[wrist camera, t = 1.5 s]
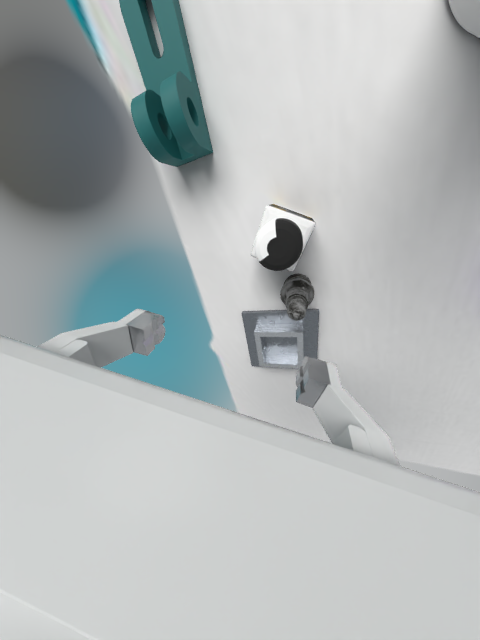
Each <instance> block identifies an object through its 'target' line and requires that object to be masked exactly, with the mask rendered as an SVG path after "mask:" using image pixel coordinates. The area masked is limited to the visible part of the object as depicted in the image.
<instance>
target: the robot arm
mask: <svg viewBox="0 0 480 640" xmlns="http://www.w3.org/2000/svg"><path fill="white" fill-rule="evenodd" d="M448 1H449V5H450V8H451V11H452V13H453V15H454V17H455V19H456V20H457V22H458V23H459V24H460V25H461V26H462V27H463V28H464V29H465V30H466V31H468V32H469V33H471V34H473V35H475V36H477V37H478V38H480V0H448ZM164 322H165V321H164V317H163V316H162V315H158V314H155V313H151V312H149V311H145V310H142V309H136V310H134V311H133V312H131V313H130V314H128V315H127V316H125V317H124V318H122V319H121V320H119V321H118V322H110V323H105V324H101V325H96V326H92V327H87V328H83V329H79V330H74V331H70V332H65V333H61V334H59V335H58V336H56V337H54V338H52V339H50V340H49V341H47V342H45V343H43V344H42V345H40V346H38V347H36V346H33V345H30V344H27V343H24V342H21V341H18V340H15V339H12V338H8V337H5V336H2V335H0V640H480V492H477V491H475V490H472V489H469V488H466V487H463V486H459V485H456V484H453V483H450V482H447V481H444V480H441V479H438V478H435V477H432V476H428V475H426V474H422V473H420V472H417V471H414V470H410V469H408V468H404V467H401V466H400V464H399V461H398V458H397V456H396V453H395V451H394V448H393V446H392V444H391V441H390V439H389V436H388V435H387V434H386V433H385V432H384V430H383V429H382V428H381V427H380V426H379V425H378V424H377V423H376V422H375V421H374V420H373V419H372V417H371V416H370V415H369V414H368V413H367V412H366V411H365V410H364V409H363V408H362V407H361V406H360V404H359V403H358V402H357V401H356V400H355V399H354V398H353V397H352V396H351V395H350V394H349V393H348V391H347V390H345V389H343V387H342V384H341V380H340V377H339V373H338V369H337V366H336V364H334V363H330V362H327V361H322V360H318V359H315V358H311V357H307V356H305V357H304V359H303V361H302V364H303V366H301V367H299V370H298V372H297V376H296V385H297V387H298V388H297V390H296V402H297V403H300V404H303V405H306V406H309V407H312V408H313V410H314V412H315V414H316V415H317V417H318V419H319V421H320V422H321V424H322V426H323V428H324V430H325V431H326V433H327V435H328V437H329V438H330V440H331V442H332V444H331V443H328V442H325V441H322V440H319V439H316V438H313V437H310V436H307V435H304V434H301V433H298V432H295V431H292V430H289V429H286V428H283V427H280V426H277V425H274V424H271V423H268V422H265V421H261V420H258V419H255V418H252V417H249V416H246V415H243V414H240V413H237V412H234V411H231V410H228V409H225V408H222V407H219V406H216V405H213V404H210V403H207V402H204V401H200V400H198V399H194V398H191V397H188V396H185V395H182V394H179V393H176V392H173V391H170V390H167V389H164V388H161V387H158V386H155V385H152V384H149V383H146V382H143V381H140V380H137V379H133V378H131V377H127V376H124V375H121V374H118V373H115V372H112V371H109V370H106V369H103V368H101V367H103V366H105V365H107V364H109V363H112V362H114V361H115V360H118V359H120V358H123V357H125V356H127V355H129V354H131V353H133V352H135V353H139V354H142V355H146V356H148V355H149V354H150V352H151V351H153V350H154V349H155V345H156V344H159V343H160V342H161V341H162V340H163V338H164V336H165V328H164V326H163V325H162V324H163V323H164Z"/></svg>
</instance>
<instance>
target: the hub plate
mask: <svg viewBox="0 0 480 640" xmlns="http://www.w3.org/2000/svg"><path fill="white" fill-rule="evenodd" d="M242 318H243V323H244V328H245V333H246V338H247V344H248V349H249V354H250V359H251V365H252V366H260V367H276V368H292V369H299V367H301V366H303V364H302V361H303V359H304V357H305V356H307V357H311V358H315V359H317V348H318V321H319V309H306V315H305V317H304V318H303V319H302V320H299V321H295V320H292V319H290V318H289V316H288V314H287V310H268V311H243V312H242Z"/></svg>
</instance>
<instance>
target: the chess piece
mask: <svg viewBox="0 0 480 640" xmlns="http://www.w3.org/2000/svg"><path fill="white" fill-rule="evenodd" d="M280 295H281V299H282V301H283V303H284V304H285V305H286V308H287V314H288V316H289V318H290V319H292V320H295V321H299V320H302V319H303V318H304V317H305V315H306V309H307V307H308V305H309V304H310V303H311V302H312V300H313V298H314V289H313V286H312V285H311V281H310V280H309V278H308V277H306V276H305V275H302V274H294V275H291V276H290V277H288V278H287V279H286V280H285V282H284V286H283V287H282V289H281V294H280Z"/></svg>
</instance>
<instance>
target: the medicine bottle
mask: <svg viewBox="0 0 480 640" xmlns="http://www.w3.org/2000/svg"><path fill="white" fill-rule="evenodd" d="M315 225H316V224H315V222H314V220H313V219H312V218H310V217H307V216H305V215H302V214H299V213H297V212H294V211H291V210H288V209H286V208H283V207H280V206H277V205H275V204H272V205H267V206H266V207H265V210H264V213H263V217H262V220H261V223H260V226H259V229H258V232H257V235H256V238H255V242H254V245H253V248H252V251H251V256H252V257H255V258H257V259H258V261H259V262H260V263H261V264H262V265H263V266H264V267H266V268H268V269H270V270H274V271H280V270H285V269H286V270H289V271H294V269H295V267H296V265H297V263H298V261H299V259H300V257H301V254H302V252H303V250H304V248H305V246H306V244H307V242H308V240H309V238H310V236H311V234H312V232H313V229H314V227H315Z"/></svg>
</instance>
